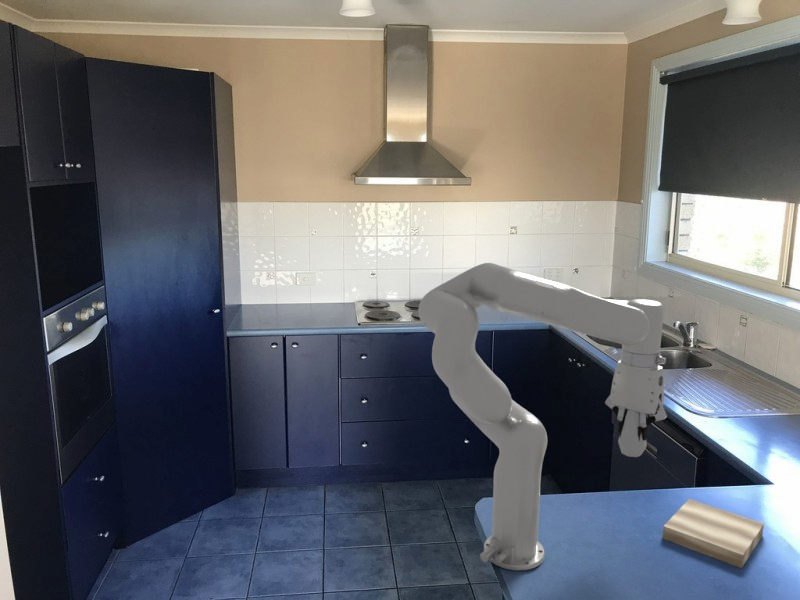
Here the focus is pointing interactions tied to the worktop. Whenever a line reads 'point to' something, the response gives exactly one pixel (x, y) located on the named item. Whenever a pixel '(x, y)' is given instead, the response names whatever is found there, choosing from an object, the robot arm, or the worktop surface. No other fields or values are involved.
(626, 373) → the robot arm
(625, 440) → the salt shaker
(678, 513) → the plinth
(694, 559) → the worktop surface
